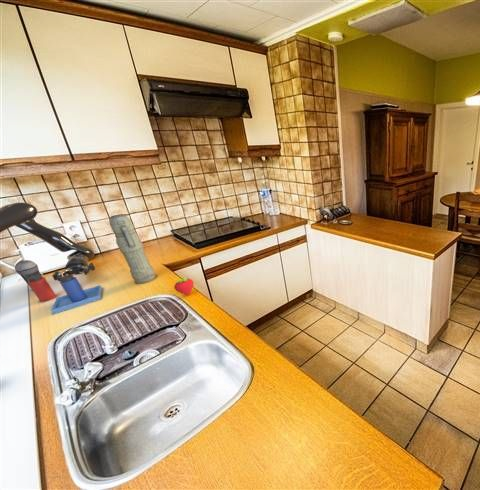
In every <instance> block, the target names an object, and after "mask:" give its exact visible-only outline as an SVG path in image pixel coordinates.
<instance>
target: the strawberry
mask: <svg viewBox="0 0 480 490" xmlns="http://www.w3.org/2000/svg"><path fill="white" fill-rule="evenodd" d="M173 285H174V286H173V288H174V290H176V292H178V293H180V294H182V295H185V296H188V295H190V294H191V292H192V290H193V288H194V281H193V279H192V278H189V277H183V276H181V278H180V279H177V280H176V281H175V284H173Z"/></svg>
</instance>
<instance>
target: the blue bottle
mask: <svg viewBox="0 0 480 490" xmlns="http://www.w3.org/2000/svg"><path fill="white" fill-rule="evenodd" d="M60 280H61V281H59V284H60V286H61V287H62V289H63V291H64V292H65V295H68V297H69V299H70V300H71V302H73V303H75V302H78V301H82V300H84V299H86V298H87V296H86V294H85V292H84V290H85V289H83V287H82V285H81V283H80V282H79V280H78V278H77V277H76V276H74V275H67V276H64V277H63V276H62V278H60Z"/></svg>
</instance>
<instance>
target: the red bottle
mask: <svg viewBox="0 0 480 490" xmlns="http://www.w3.org/2000/svg"><path fill="white" fill-rule="evenodd" d="M28 280H29V281H28V284H29V285H30V286H29V285H28V284H27V285H28V286H29V287H30V288H31V290H32V292H33V293H34V295H35V296H36V297H37V299H38V301H39V302H41V303H43V302H49V301H51V300H54V299H56V298H57V295H56V293H55V292H54V290H53V288H52V286H51V285H50V284H49V282H48V281H47V279H46V277H45V276H42V274H41V275H36V276H32V277H30V278H28Z"/></svg>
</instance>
